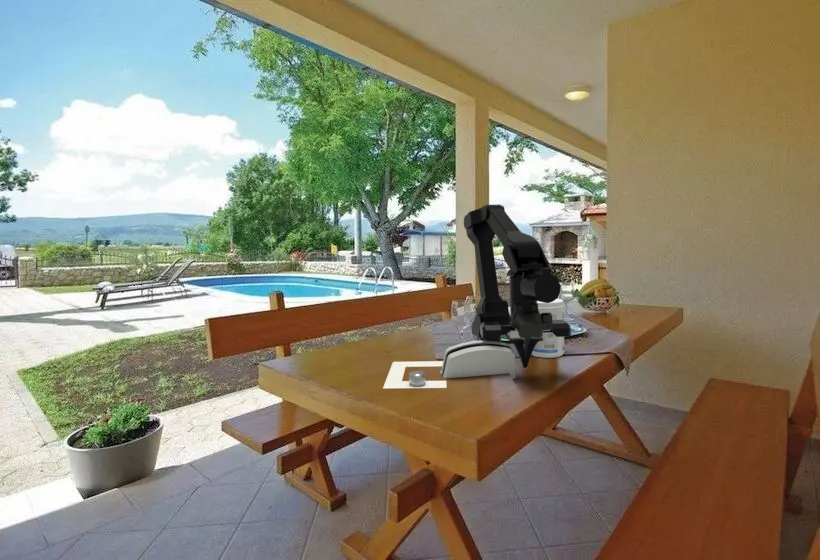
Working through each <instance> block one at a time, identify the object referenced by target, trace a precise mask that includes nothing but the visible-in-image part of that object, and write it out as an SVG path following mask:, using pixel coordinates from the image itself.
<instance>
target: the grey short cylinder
mask: <svg viewBox="0 0 820 560" xmlns="http://www.w3.org/2000/svg"><path fill="white" fill-rule="evenodd" d="M408 378H409V379H408V381H409V385H410V386H412V387H422V386H425V385H426V381H427V380H426V372H425V371H423V370H413V371H410V372H409V373H408Z"/></svg>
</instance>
